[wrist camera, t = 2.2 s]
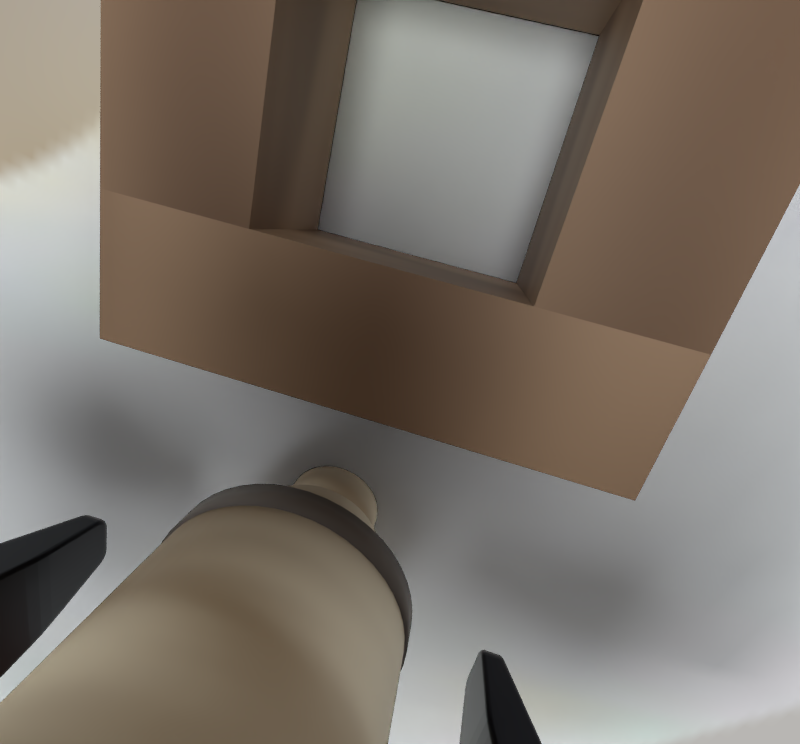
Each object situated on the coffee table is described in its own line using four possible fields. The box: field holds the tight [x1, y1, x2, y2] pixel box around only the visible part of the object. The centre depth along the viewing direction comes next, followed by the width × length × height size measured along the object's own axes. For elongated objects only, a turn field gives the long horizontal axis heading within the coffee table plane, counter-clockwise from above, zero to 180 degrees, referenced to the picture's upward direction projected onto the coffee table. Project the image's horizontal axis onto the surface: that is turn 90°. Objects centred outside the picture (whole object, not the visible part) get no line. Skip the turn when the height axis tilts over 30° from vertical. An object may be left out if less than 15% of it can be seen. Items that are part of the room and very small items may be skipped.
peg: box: [0, 466, 412, 744], centre depth 7 cm, size 5×5×9 cm
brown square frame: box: [100, 0, 800, 500], centre depth 7 cm, size 9×9×3 cm
